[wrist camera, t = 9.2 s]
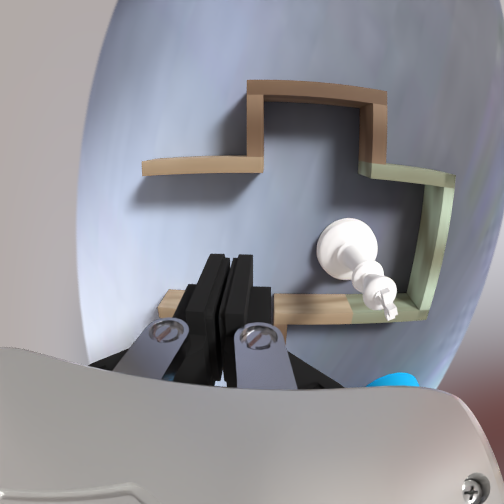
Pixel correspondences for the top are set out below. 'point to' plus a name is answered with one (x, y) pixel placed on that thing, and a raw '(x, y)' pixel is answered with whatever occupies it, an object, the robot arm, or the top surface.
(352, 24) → the top surface
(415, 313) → the box
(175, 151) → the top surface
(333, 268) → the chess piece
